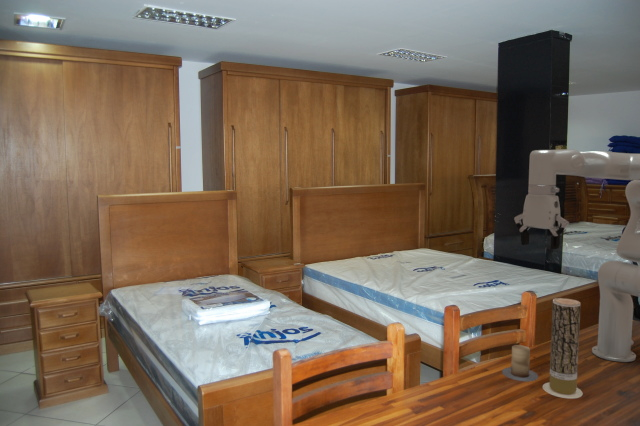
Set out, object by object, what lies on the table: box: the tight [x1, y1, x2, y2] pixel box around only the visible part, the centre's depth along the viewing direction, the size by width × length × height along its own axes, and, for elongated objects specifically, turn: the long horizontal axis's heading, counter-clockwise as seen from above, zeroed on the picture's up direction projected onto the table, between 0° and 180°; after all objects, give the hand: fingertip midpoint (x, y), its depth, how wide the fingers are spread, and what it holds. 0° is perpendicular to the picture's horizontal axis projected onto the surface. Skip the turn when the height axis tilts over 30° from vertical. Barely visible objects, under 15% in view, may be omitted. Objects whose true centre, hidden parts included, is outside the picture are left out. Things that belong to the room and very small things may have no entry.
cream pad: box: [542, 381, 584, 400], centre depth 139 cm, size 10×10×1 cm
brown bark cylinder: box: [549, 297, 582, 394], centre depth 138 cm, size 7×7×25 cm
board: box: [501, 366, 539, 382], centre depth 144 cm, size 12×23×1 cm, turn 35°
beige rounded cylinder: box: [510, 344, 531, 378], centre depth 149 cm, size 5×5×8 cm
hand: (539, 246), depth 153 cm, fingers open, 9 cm apart
